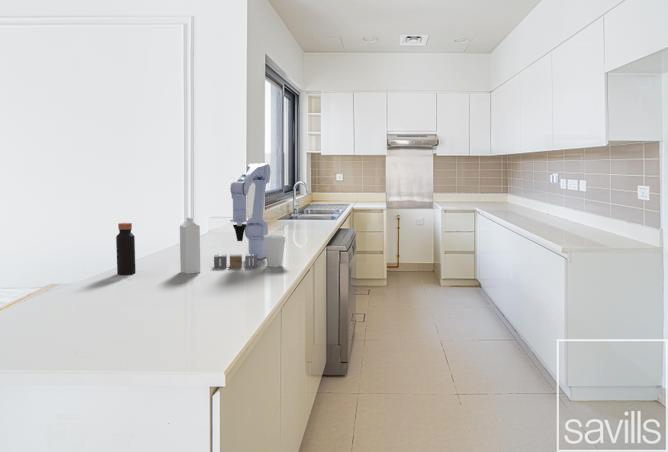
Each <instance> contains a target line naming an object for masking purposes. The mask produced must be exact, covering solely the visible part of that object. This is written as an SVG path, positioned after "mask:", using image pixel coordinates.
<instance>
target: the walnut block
mask: <svg viewBox="0 0 668 452" xmlns="http://www.w3.org/2000/svg"><path fill="white" fill-rule="evenodd" d="M229 268H230V269H239V268H241V269H242V268H243V254H241V253H240V254H234V253H233V254H229Z"/></svg>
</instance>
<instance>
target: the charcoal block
mask: <svg viewBox="0 0 668 452" xmlns="http://www.w3.org/2000/svg"><path fill="white" fill-rule="evenodd" d="M227 258H228V254H214V256H213V269H227V265H228V263H227V262H228V260H227Z"/></svg>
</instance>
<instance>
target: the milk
mask: <svg viewBox="0 0 668 452" xmlns="http://www.w3.org/2000/svg"><path fill="white" fill-rule="evenodd" d="M200 232H201V231H200V225H198V224H196V223H195V222H194V221H193V218H191V217H186V221H184V222H183V223H181V224H180V225H179V249H180V250H179V251H180V253H179V254H180V255H179V256H180V257H179V260H180V261H179V262H180V273H182V274H184V275H191V274H198V273H199V274H200V273H201V233H200Z"/></svg>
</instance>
